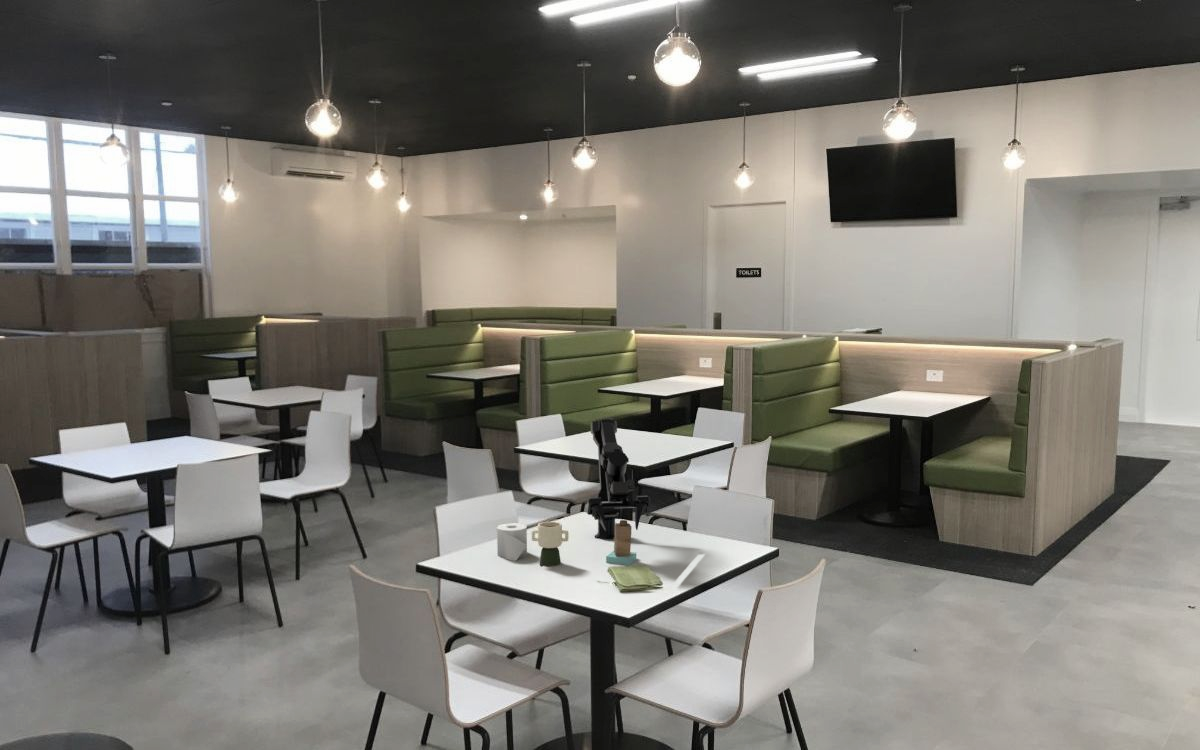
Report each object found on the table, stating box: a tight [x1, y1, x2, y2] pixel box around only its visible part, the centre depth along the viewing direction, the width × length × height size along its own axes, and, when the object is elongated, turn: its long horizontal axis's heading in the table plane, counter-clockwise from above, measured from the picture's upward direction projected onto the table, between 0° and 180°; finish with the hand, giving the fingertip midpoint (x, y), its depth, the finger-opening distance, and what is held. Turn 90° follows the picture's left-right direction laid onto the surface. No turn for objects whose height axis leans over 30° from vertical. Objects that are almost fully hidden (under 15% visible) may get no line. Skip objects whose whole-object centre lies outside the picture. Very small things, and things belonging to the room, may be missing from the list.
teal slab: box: [605, 550, 637, 566], centre depth 271 cm, size 7×7×2 cm
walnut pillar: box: [613, 519, 633, 556], centre depth 270 cm, size 4×4×10 cm
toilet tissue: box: [496, 522, 528, 562], centre depth 282 cm, size 9×13×9 cm
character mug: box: [531, 521, 569, 568], centre depth 268 cm, size 11×7×13 cm, turn 86°
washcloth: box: [606, 564, 664, 593], centre depth 255 cm, size 13×18×3 cm
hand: (621, 529), depth 268 cm, fingers open, 9 cm apart
